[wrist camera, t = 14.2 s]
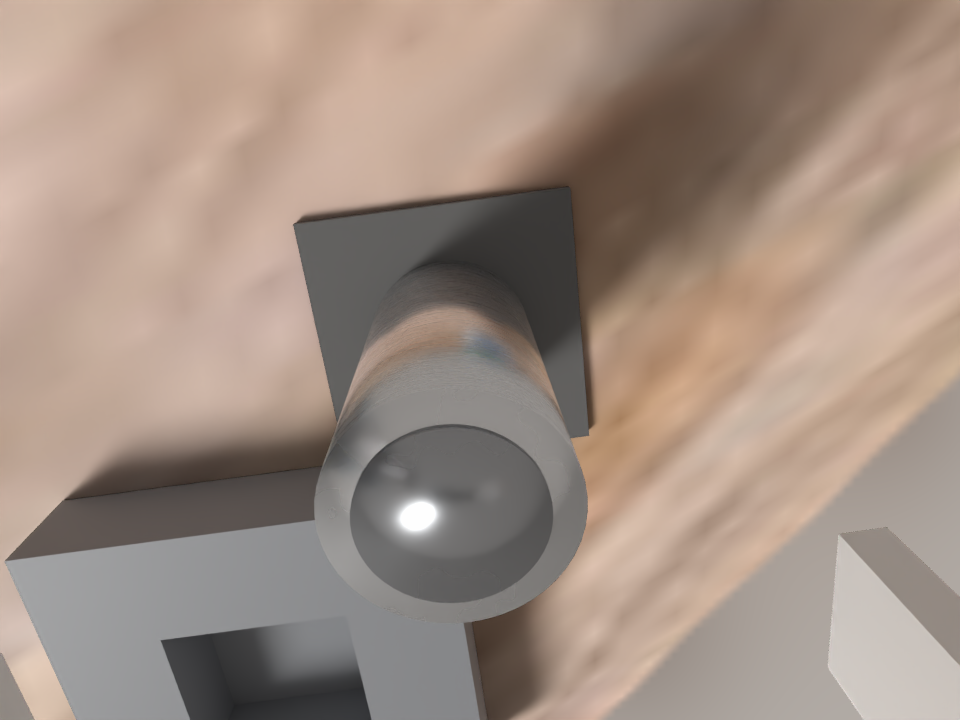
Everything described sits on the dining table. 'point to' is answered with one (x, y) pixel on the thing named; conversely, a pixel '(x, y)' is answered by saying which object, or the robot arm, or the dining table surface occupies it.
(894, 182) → the dining table surface
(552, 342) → the mat
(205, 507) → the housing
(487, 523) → the end cap
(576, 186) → the dining table surface
